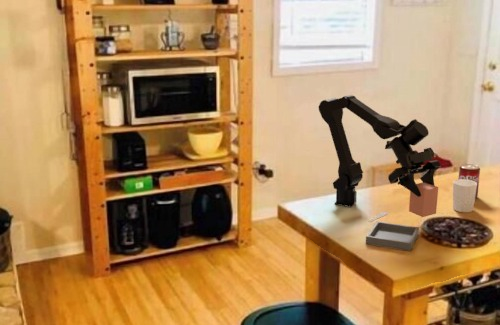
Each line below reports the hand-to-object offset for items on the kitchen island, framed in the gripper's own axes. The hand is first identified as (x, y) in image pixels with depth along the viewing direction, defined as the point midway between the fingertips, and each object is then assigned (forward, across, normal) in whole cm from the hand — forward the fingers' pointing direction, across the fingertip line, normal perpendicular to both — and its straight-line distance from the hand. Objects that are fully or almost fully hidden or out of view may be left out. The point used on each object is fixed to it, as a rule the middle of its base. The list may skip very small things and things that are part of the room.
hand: (427, 194), depth 188 cm
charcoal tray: (+9, -14, +9) cm, 18 cm away
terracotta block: (+4, 0, +6) cm, 7 cm away
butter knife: (-1, -11, +20) cm, 22 cm away
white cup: (+4, +26, +13) cm, 29 cm away
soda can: (-1, +37, +19) cm, 42 cm away
